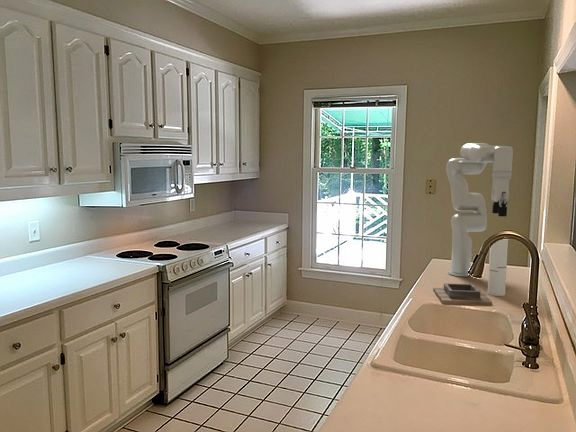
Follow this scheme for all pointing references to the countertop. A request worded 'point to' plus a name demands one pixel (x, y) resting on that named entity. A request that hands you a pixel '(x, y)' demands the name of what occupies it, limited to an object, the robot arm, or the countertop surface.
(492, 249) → the cylindrical container
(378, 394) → the countertop surface
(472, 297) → the walnut caddy
